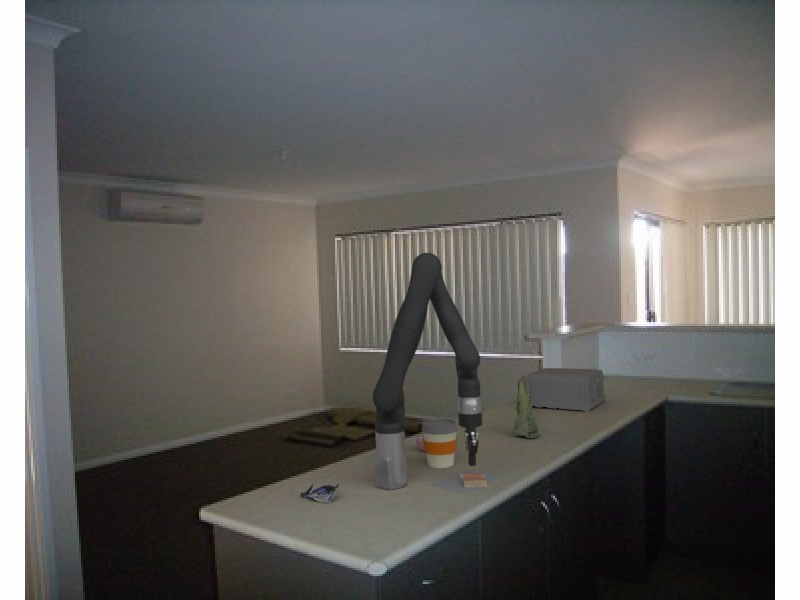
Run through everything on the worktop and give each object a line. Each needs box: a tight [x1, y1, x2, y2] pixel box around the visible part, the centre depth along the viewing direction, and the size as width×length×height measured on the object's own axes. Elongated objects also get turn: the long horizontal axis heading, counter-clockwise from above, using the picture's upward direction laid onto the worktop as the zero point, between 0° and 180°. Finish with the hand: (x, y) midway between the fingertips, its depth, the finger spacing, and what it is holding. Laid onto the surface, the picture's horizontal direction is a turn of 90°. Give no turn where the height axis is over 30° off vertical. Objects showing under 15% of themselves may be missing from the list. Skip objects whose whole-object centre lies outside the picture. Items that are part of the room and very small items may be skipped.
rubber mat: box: [428, 468, 504, 495], centre depth 192 cm, size 20×15×1 cm
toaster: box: [525, 367, 608, 412], centre depth 311 cm, size 31×36×17 cm
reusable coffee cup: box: [421, 418, 458, 469], centre depth 211 cm, size 13×13×15 cm
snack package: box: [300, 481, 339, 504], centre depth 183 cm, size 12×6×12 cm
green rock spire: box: [513, 374, 540, 439], centre depth 248 cm, size 11×12×25 cm
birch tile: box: [460, 473, 488, 487], centre depth 189 cm, size 2×7×8 cm
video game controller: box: [415, 434, 425, 453], centre depth 234 cm, size 10×5×7 cm, turn 142°
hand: (472, 465), depth 191 cm, fingers closed
